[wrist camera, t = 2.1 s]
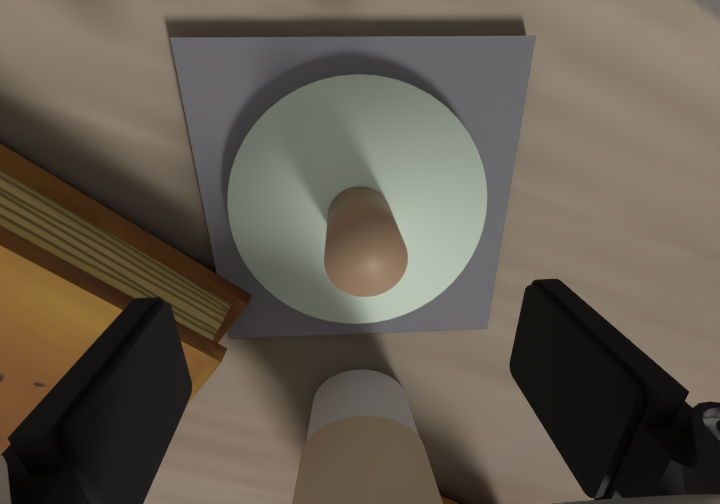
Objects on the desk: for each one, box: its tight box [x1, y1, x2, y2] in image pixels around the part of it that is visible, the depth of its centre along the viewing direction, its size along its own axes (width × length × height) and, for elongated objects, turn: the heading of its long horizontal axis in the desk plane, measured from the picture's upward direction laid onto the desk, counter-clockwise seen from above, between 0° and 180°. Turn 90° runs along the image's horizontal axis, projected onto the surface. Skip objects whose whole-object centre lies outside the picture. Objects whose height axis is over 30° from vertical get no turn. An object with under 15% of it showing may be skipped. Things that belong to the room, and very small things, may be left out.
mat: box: [170, 36, 536, 339], centre depth 20 cm, size 16×16×1 cm
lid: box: [227, 74, 487, 324], centre depth 17 cm, size 13×13×6 cm
